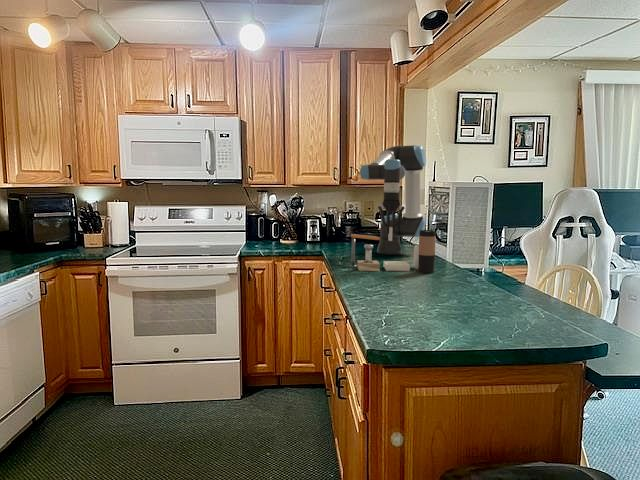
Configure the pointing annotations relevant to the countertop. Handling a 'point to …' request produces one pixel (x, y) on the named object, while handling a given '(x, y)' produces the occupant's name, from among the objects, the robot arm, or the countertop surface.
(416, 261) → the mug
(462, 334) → the countertop surface
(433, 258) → the travel mug
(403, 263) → the tray
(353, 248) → the keeper post
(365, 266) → the block
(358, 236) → the bar
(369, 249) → the pin
